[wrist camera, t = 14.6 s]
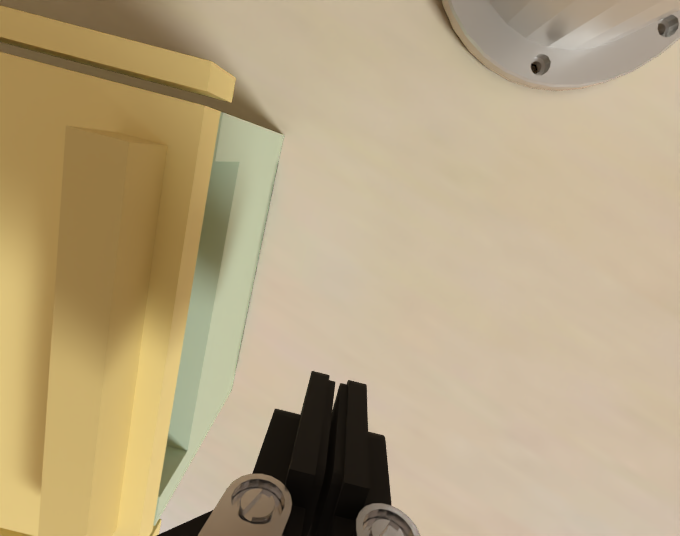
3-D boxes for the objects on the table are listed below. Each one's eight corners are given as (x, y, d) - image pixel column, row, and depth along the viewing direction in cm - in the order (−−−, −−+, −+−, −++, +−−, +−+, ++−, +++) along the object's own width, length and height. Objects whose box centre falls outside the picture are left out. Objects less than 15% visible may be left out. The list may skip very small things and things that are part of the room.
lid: (-99, -11, 12) (-310, -91, 8) (235, 78, 12) (179, 39, 8) (-84, 473, 16) (-215, 565, 12) (158, 532, 16) (100, 639, 13)
